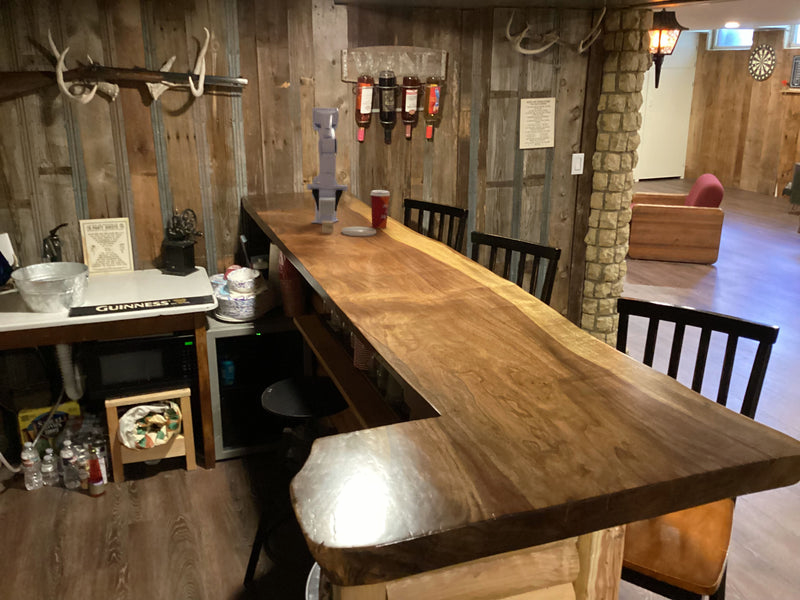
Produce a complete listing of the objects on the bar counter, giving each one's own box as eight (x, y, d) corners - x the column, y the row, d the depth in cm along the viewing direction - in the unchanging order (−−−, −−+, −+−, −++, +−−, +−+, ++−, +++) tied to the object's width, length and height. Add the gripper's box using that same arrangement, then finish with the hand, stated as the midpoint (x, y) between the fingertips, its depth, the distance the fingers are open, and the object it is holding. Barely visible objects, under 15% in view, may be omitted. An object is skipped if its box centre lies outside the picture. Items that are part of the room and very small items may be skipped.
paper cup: (388, 229, 269) (389, 193, 265) (368, 228, 269) (369, 192, 265) (389, 225, 277) (390, 190, 273) (370, 224, 277) (371, 189, 273)
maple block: (322, 230, 262) (322, 220, 261) (333, 231, 262) (333, 220, 261) (321, 233, 258) (321, 222, 257) (332, 233, 258) (332, 222, 257)
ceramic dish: (348, 227, 269) (348, 225, 268) (380, 231, 265) (380, 228, 265) (336, 234, 257) (336, 231, 256) (369, 237, 253) (369, 235, 253)
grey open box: (319, 214, 255) (319, 197, 253) (335, 214, 256) (335, 197, 254) (318, 216, 250) (319, 199, 248) (334, 217, 250) (334, 200, 248)
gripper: (306, 173, 244) (306, 211, 248) (347, 174, 245) (347, 213, 249) (307, 170, 250) (307, 208, 254) (348, 172, 251) (347, 209, 255)
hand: (327, 210), depth 252 cm, fingers closed on grey open box, 6 cm apart
